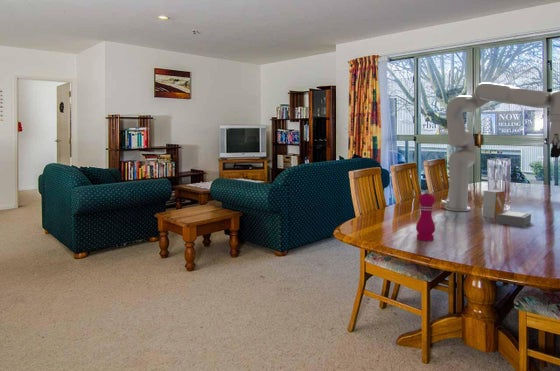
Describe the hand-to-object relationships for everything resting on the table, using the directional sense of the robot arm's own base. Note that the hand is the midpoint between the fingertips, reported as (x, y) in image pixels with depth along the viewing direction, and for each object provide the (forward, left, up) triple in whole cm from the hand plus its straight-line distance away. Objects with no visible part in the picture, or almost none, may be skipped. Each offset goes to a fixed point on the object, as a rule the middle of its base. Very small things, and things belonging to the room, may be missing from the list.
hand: (555, 156), depth 196 cm
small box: (-23, -7, -31) cm, 39 cm away
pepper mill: (-29, -69, -31) cm, 80 cm away
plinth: (-12, -14, -30) cm, 35 cm away
